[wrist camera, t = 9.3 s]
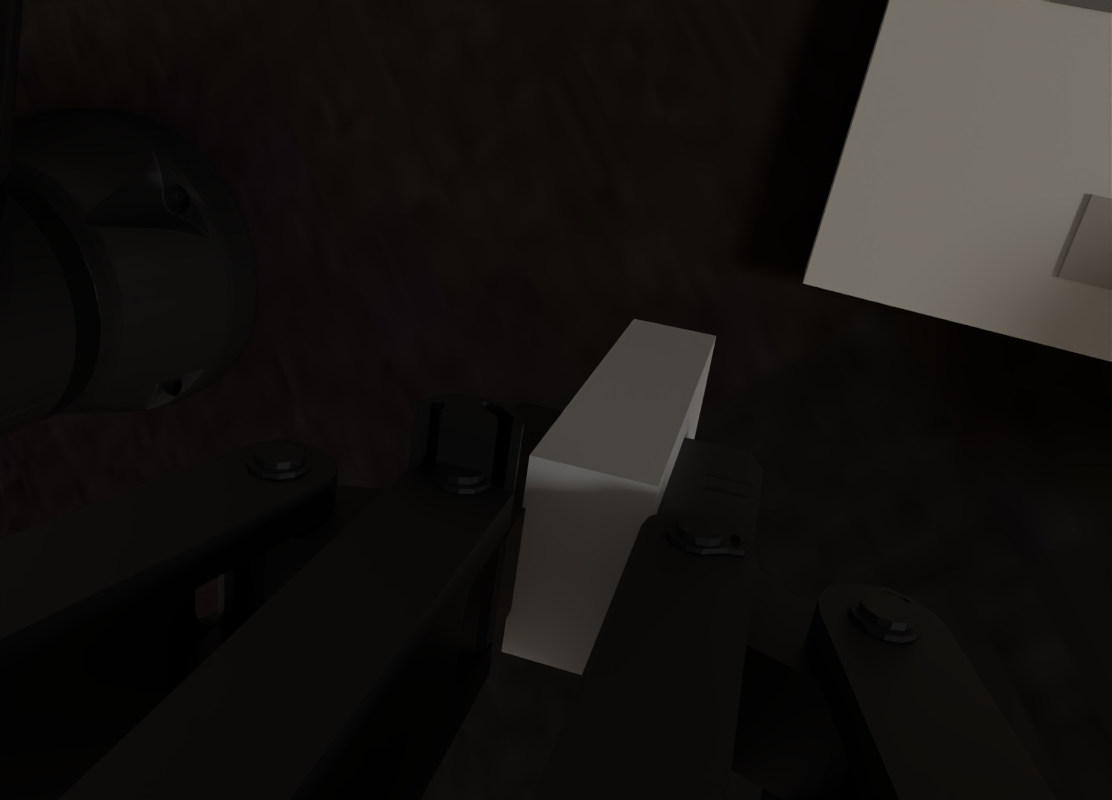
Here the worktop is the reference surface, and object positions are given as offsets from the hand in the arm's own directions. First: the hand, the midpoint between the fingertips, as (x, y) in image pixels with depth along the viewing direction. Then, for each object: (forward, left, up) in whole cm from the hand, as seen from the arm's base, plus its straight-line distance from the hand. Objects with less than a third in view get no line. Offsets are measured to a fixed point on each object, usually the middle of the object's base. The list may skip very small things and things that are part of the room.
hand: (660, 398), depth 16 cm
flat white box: (+10, +5, -23) cm, 26 cm away
